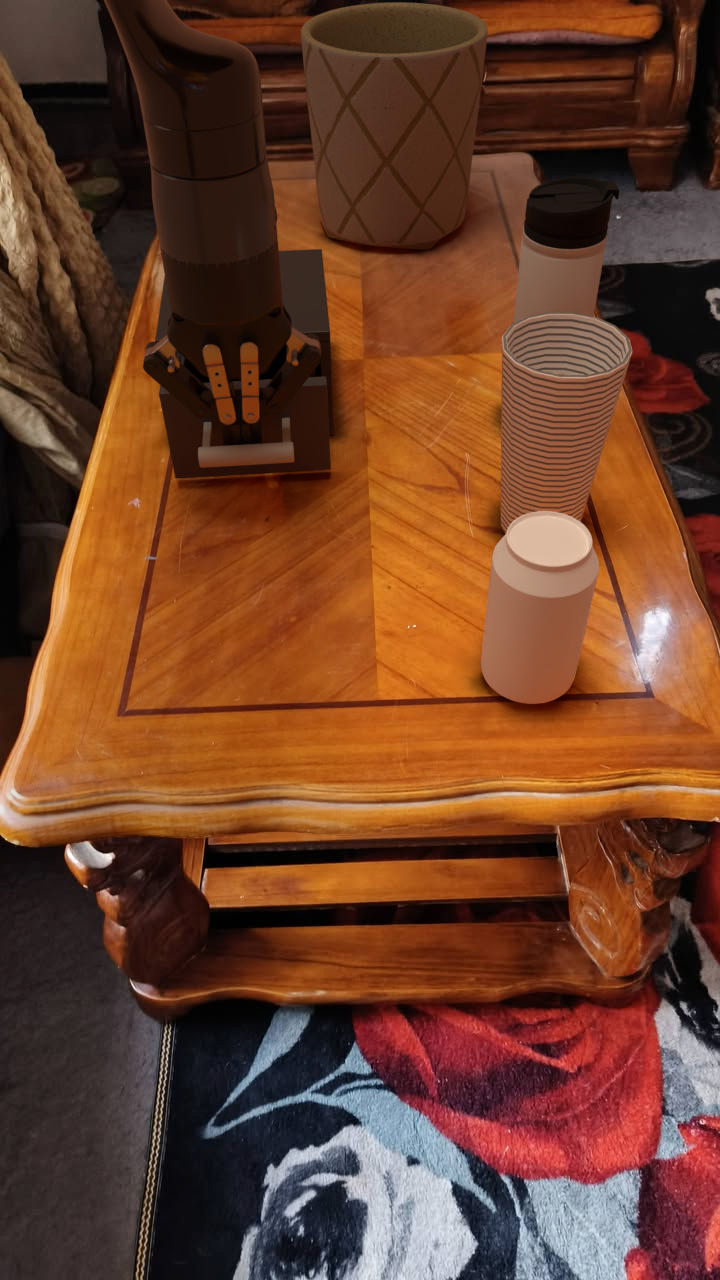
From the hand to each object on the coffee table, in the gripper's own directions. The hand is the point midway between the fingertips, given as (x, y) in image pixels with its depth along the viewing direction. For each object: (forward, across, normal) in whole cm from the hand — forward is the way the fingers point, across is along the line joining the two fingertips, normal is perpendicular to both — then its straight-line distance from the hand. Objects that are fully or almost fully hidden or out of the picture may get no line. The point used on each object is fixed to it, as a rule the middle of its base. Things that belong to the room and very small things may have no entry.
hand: (245, 457), depth 73 cm
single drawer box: (+4, 0, +16) cm, 17 cm away
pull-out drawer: (+3, 0, +7) cm, 8 cm away
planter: (+5, +16, +51) cm, 54 cm away
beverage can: (+4, +18, -20) cm, 28 cm away
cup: (+4, +22, -5) cm, 23 cm away
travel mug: (+4, +25, +9) cm, 27 cm away
